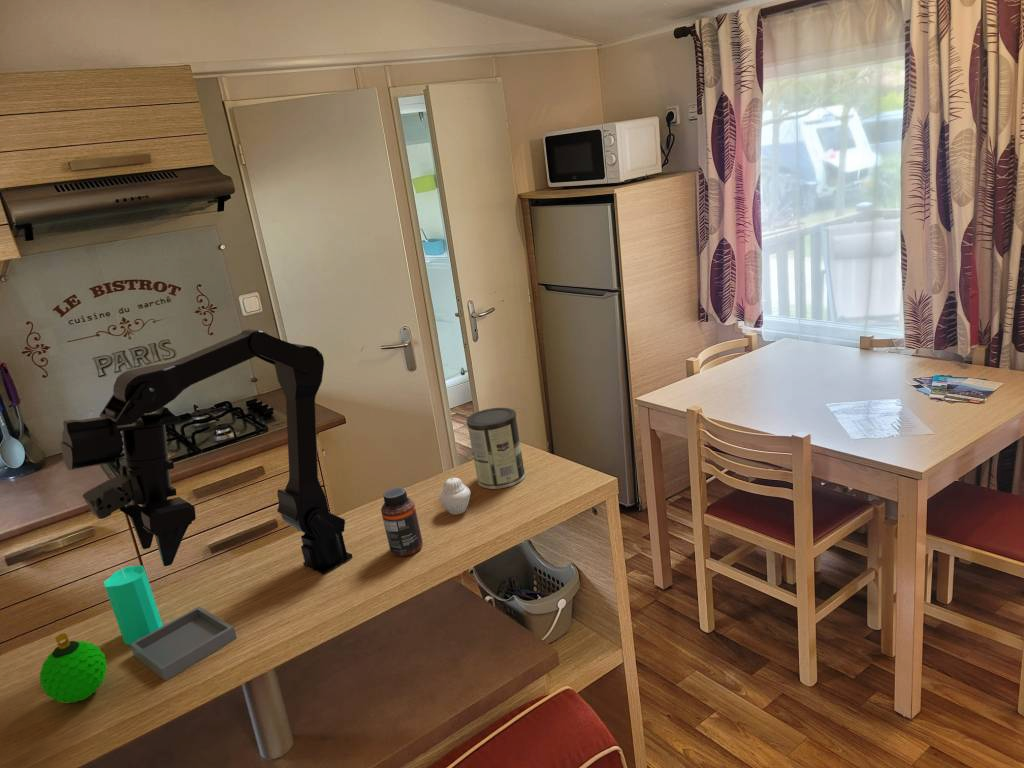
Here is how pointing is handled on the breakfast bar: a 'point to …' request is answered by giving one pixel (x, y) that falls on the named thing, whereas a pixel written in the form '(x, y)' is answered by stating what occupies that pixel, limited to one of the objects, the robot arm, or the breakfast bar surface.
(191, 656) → the tray
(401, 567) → the breakfast bar surface
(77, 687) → the ornament
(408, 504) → the supplement bottle
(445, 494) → the muffin
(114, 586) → the candle
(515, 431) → the coffee can
